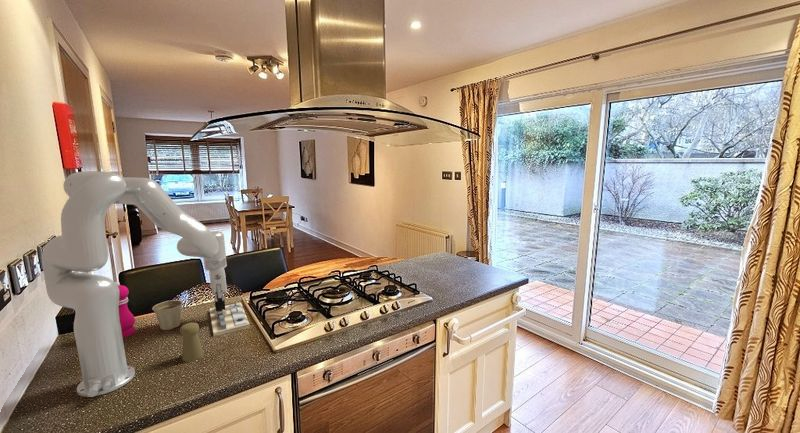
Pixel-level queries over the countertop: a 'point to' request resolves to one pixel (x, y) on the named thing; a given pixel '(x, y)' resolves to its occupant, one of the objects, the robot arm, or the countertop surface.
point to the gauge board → (229, 319)
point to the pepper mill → (125, 312)
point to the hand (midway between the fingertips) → (220, 308)
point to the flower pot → (168, 314)
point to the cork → (191, 342)
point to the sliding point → (225, 310)
